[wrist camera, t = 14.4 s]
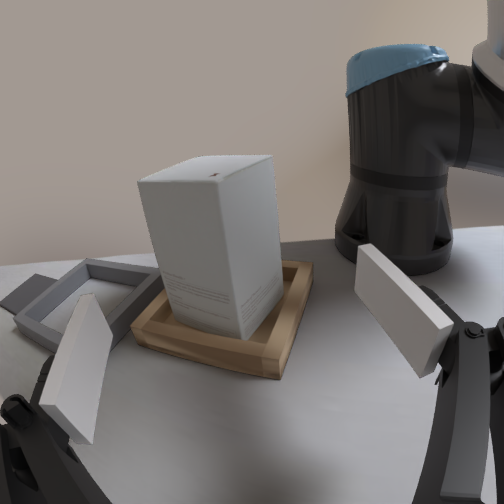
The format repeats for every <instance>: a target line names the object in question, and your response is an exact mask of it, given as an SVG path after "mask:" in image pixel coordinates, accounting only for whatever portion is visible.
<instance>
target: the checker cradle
mask: <svg viewBox="0 0 504 504" xmlns="http://www.w3.org/2000/svg"><path fill="white" fill-rule="evenodd" d="M91 277H93V278H97V279H102V280H107V281H112V282H117V283H122V284H127V285H133V286H138V287H137V288H136V289H135V290H133V291H132V292H131V293H130V294H129V295H128V296H127V297H126V298H125V299H124V300H123V301H122V302H121V303H120V304H119V305H118V306H117V307H116V308H115V309H114V310H113V311H112V312H111V313H110V314H109V315H108V316H107V317H106V318H105V319H106V321H107V323H108V326H109V328H110V330H111V332H112V334H113V338H112V343H111V347H110V351H111V350H112V349H113V348H114V347H115V345H116V344H117V343H118V342H119V341H120V340H121V339H122V338H123V336H124V335H125V334H126V333H127V332H128V331H129V330H130V329H131V327H130V325H131V324H132V323H133V322H134V321H135V320H136V319H137V317H138V316H139V315H140V314H141V313H142V312H143V311H144V310H145V309H146V308H147V307H148V306H149V304H150V303H151V302H152V301H153V300H154V299H155V298H156V297H157V296H158V295H159V294H160V293H161V292H162V290H163V289H164V288H165V286H164V283H163V280H162V276H161V273H160V270H159V268H153V267H146V266H138V265H131V264H124V263H116V262H109V261H102V260H95V259H89V258H86V259H85V260H83V261H82V262H81V263H79V264H78V265H77V266H76V267H74V268H73V269H72V270H70V271H69V272H68V273H67V274H65V275H64V276H63V277H61V278H60V279H59V280H58V281H56V282H55V283H54V284H53V285H51V286H50V287H49V288H48V289H46V290H45V291H44V292H43V293H42V294H40V295H39V296H38V297H37V298H36V299H34V300H33V301H32V302H31V303H30V304H29V305H27V306H26V307H25V308H24V309H23V310H22V311H20V312H19V313H18V314H17V315H16V316H15V317H14V318H13V320H14V321H15V323H16V325H17V327H18V328H19V330H20V332H21V333H23V334H24V335H26V336H27V337H29V338H31V339H32V340H34V341H35V342H37V343H39V344H40V345H42V346H43V347H45V348H47V349H48V350H50V351H52V352H54V353H55V354H56V353H57V350H58V347H59V345H60V342H61V340H62V337H63V334H61V333H59V332H57V331H55V330H53V329H51V328H49V327H47V326H45V325H43V324H41V323H39V322H40V321H41V320H42V319H43V318H44V317H45V316H47V315H48V314H49V313H50V312H51V311H52V310H53V309H54V308H55V307H57V306H58V305H59V304H60V303H61V302H62V301H63V300H65V299H66V298H67V297H68V296H69V295H70V294H72V293H73V292H74V291H75V290H76V289H77V288H79V287H80V286H81V285H82V284H83V283H85V282H86V281H87V280H88V279H89V278H91ZM110 351H109V352H110Z"/></svg>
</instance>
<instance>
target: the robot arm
mask: <svg viewBox="0 0 504 504" xmlns="http://www.w3.org/2000/svg"><path fill="white" fill-rule="evenodd" d="M487 5H488V37H487V40H486V41H484V42H481V43H480V44H477V45H476V46H475V47H474V49H473V54H472V66H471V67H470V66H465V65H458V64H452V63H449V62H448V61H449V57H448V56H447V54H446V52H445V50H443V49H442V48H440V47H436V46H427V45H422V44H400V45H399V44H398V45H388V46H381V47H376V48H371V49H367V50H364V51H362V52H359V53H357V54H355V55H354V56H352V58H351V59H350V60H349V62H348V64H347V92H346V98H347V99H348V115H349V135H350V182H349V185H348V189H347V191H346V194H345V197H344V201H343V203H342V206H341V209H340V212H339V215H338V217H337V220H336V225H335V243H336V246H337V248H338V250H339V251H340V252H341V253H342V254H343V255H344V256H345V257H347V258H348V259H349V260H351V261H353V262H355V263H356V264H357V266H356V277H355V288H354V291H355V293H356V294H357V295H358V296H359V298H360V299H361V300H362V302H363V303H364V304H365V305H366V307H367V308H368V309H369V311H370V312H371V313H372V314H373V316H374V317H375V318H376V320H377V321H378V322H379V324H380V325H381V326H382V328H383V329H384V330H385V332H386V333H387V334H388V335H389V337H390V338H391V340H392V341H393V342H394V344H395V345H396V346H397V348H398V349H399V350H400V352H401V353H402V354H403V356H404V357H405V359H406V360H407V361H408V363H409V364H410V365H411V367H412V368H413V370H414V371H415V372H416V374H417V375H418V377H419V378H422V377H424V376H426V375H428V374H430V373H432V372H434V370H435V368H436V366H437V363H439V364H440V365H441V367H442V369H441V371H440V373H439V375H438V377H437V379H436V382H435V385H437V383H438V381H439V386H438V394H437V401H436V407H435V413H434V419H433V425H432V430H431V435H430V439H429V444H428V448H427V453H426V457H425V461H424V465H423V469H422V472H421V476H420V479H419V483H418V486H417V489H416V492H415V496H414V499H413V502H412V504H485V503H483V502H482V501H481V498H480V497H481V490H482V485H483V479H484V473H485V466H486V458H487V450H488V439H489V426H490V432H491V438H492V445H493V453H494V462H495V473H496V489H497V504H504V317H502V318H501V319H499V321H498V323H497V326H496V327H494V328H487V329H484V328H483V327H482V326H481V325H479V324H478V323H475V322H464V321H463V320H462V319H461V318H460V317H459V316H458V315H457V314H456V313H455V312H454V311H453V310H452V309H451V308H450V307H449V306H448V305H447V304H445V302H444V301H443V300H442V299H440V298H439V296H438V295H437V294H436V293H434V292H433V291H432V290H430V289H428V288H427V287H425V286H420V287H418V286H417V285H416V284H415V283H413V282H412V281H411V280H410V279H409V278H408V277H407V276H406V275H418V274H425V273H429V272H432V271H435V270H437V269H439V268H441V267H442V266H444V265H445V264H446V263H447V261H448V260H449V258H450V253H451V249H452V244H453V232H452V224H451V217H450V210H449V204H448V198H447V178H448V177H447V176H448V167H458V168H462V169H468V170H473V171H478V172H483V173H487V174H492V175H496V176H501V177H504V0H487ZM112 338H113V334H112V332H111V330H110V328H109V326H108V323H107V321H106V319H105V317H104V315H103V313H102V310H101V308H100V306H99V304H98V301H97V299H96V297H95V294H94V293H91V294H85V295H81V296H80V298H79V300H78V303H77V305H76V307H75V309H74V312H73V314H72V316H71V318H70V321H69V323H68V325H67V328H66V330H65V332H64V335H63V337H62V340H61V342H60V345H59V347H58V350H57V353H56V355H55V356H50V357H49V358H48V359H47V360H46V362H45V363H44V364H43V367H42V369H41V372H40V375H39V377H38V380H37V381H38V383H36V386H35V389H34V391H33V394H32V397H31V400H30V403H28V402H27V401H26V400H25V399H24V397H23V396H21V395H19V394H14V395H11V396H9V397H8V398H7V399H6V400H5V401H4V402H3V404H2V406H1V410H0V414H1V417H2V418H3V419H4V420H5V421H6V422H7V423H8V424H4V425H1V424H0V504H112V503H111V502H110V500H109V499H108V498H107V497H106V495H105V494H104V493H103V492H102V490H101V489H100V488H99V486H98V485H97V484H96V482H95V481H94V480H93V478H92V477H91V475H90V474H89V473H88V471H87V470H86V468H85V467H84V465H83V464H82V462H81V461H80V459H79V458H78V456H77V455H76V453H75V452H74V450H73V449H72V447H71V446H70V445H69V444H68V442H69V437H70V438H71V439H72V440H73V441H74V442H75V443H76V444H88V445H93V438H94V431H95V424H96V418H97V412H98V406H99V400H100V394H101V389H102V384H103V379H104V374H105V369H106V365H107V360H108V355H109V351H110V347H111V343H112Z"/></svg>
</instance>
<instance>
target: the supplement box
mask: <svg viewBox="0 0 504 504" xmlns="http://www.w3.org/2000/svg"><path fill="white" fill-rule="evenodd" d="M137 183H138V188H139V192H140V197H141V201H142V205H143V210H144V213H145V217H146V222H147V225H148V229H149V233H150V237H151V241H152V245H153V248H154V252H155V256H156V259H157V263H158V266H159V270H160V273H161V276H162V280H163V283H164V286H165V289H166V293H167V296H168V299H169V303H170V306H171V309H172V312H173V315H174V318H175V320H176V321H178V322H181V323H183V324H186V325H188V326H191V327H193V328H196V329H199V330H201V331H204V332H206V333H209V334H214V335H219V336H224V337H229V338H234V339H240V340H245V341H247V340H248V339H249V338H250V337H251V336H252V334H253V333H254V332H255V331H256V329H257V328H258V327H259V326H260V325H261V323H262V322H263V321H264V320H265V318H266V317H267V316H268V315H269V314H270V312H271V311H272V310H273V309H274V307H275V306H276V305H277V303H278V302H279V301H280V300H281V298H282V297H283V295H284V288H283V275H282V261H281V248H280V236H279V222H278V210H277V199H276V188H275V177H274V166H273V157H272V155H234V156H233V155H231V156H230V155H229V156H199V157H196V158H193V159H190V160H187V161H184V162H182V163H179V164H177V165H174V166H171V167H169V168H166V169H164V170H161V171H159V172H157V173H154V174H152V175H150V176H147V177H145V178H143V179H140V180H139V181H137Z"/></svg>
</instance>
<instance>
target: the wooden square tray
mask: <svg viewBox="0 0 504 504" xmlns="http://www.w3.org/2000/svg"><path fill="white" fill-rule="evenodd" d="M281 261H282V275H283V288H284V295H283V297H282V298H281V300H280V301H279V302H278V303H277V305H276V306H275V307H274V309H273V310H272V311H271V312H270V314H269V315H268V316H267V317H266V318H265V320H264V321H263V322H262V323H261V325H260V326H259V327H258V328H257V329H256V331H255V332H254V333H253V334H252V336H251V337H250V338H249V339H248V340H247V341H245V340H240V339H234V338H229V337H224V336H219V335H214V334H209V333H206V332H204V331H201V330H199V329H196V328H193V327H191V326H188V325H186V324H183V323H181V322H178V321H176V320H175V318H174V315H173V312H172V309H171V306H170V303H169V299H168V296H167V293H166V289H165V288H164V289H163V290H162V292H161V293H160V294H159V295H158V296H157V297H156V298H155V299H154V300H153V301H152V302H151V303H150V304H149V306H148V307H147V308H146V309H145V310H144V311H143V312H142V313H141V314H140V315H139V316H138V317H137V319H136V320H135V321H134V322H133V323H132V324H131V325H130V327H131V330H132V332H133V334H134V336H135V339H136V341H137V343H138V345H140V346H143V347H147V348H150V349H153V350H156V351H160V352H163V353H166V354H170V355H173V356H177V357H181V358H184V359H188V360H192V361H196V362H199V363H203V364H207V365H211V366H216V367H220V368H224V369H228V370H233V371H237V372H242V373H247V374H252V375H257V376H262V377H267V378H272V379H278V380H280V379H281V377H282V374H283V371H284V368H285V365H286V363H287V360H288V357H289V354H290V351H291V348H292V345H293V342H294V339H295V336H296V333H297V330H298V327H299V324H300V321H301V318H302V315H303V312H304V309H305V306H306V303H307V300H308V296H309V293H310V290H311V287H312V283H313V262H301V261H288V260H281Z"/></svg>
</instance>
